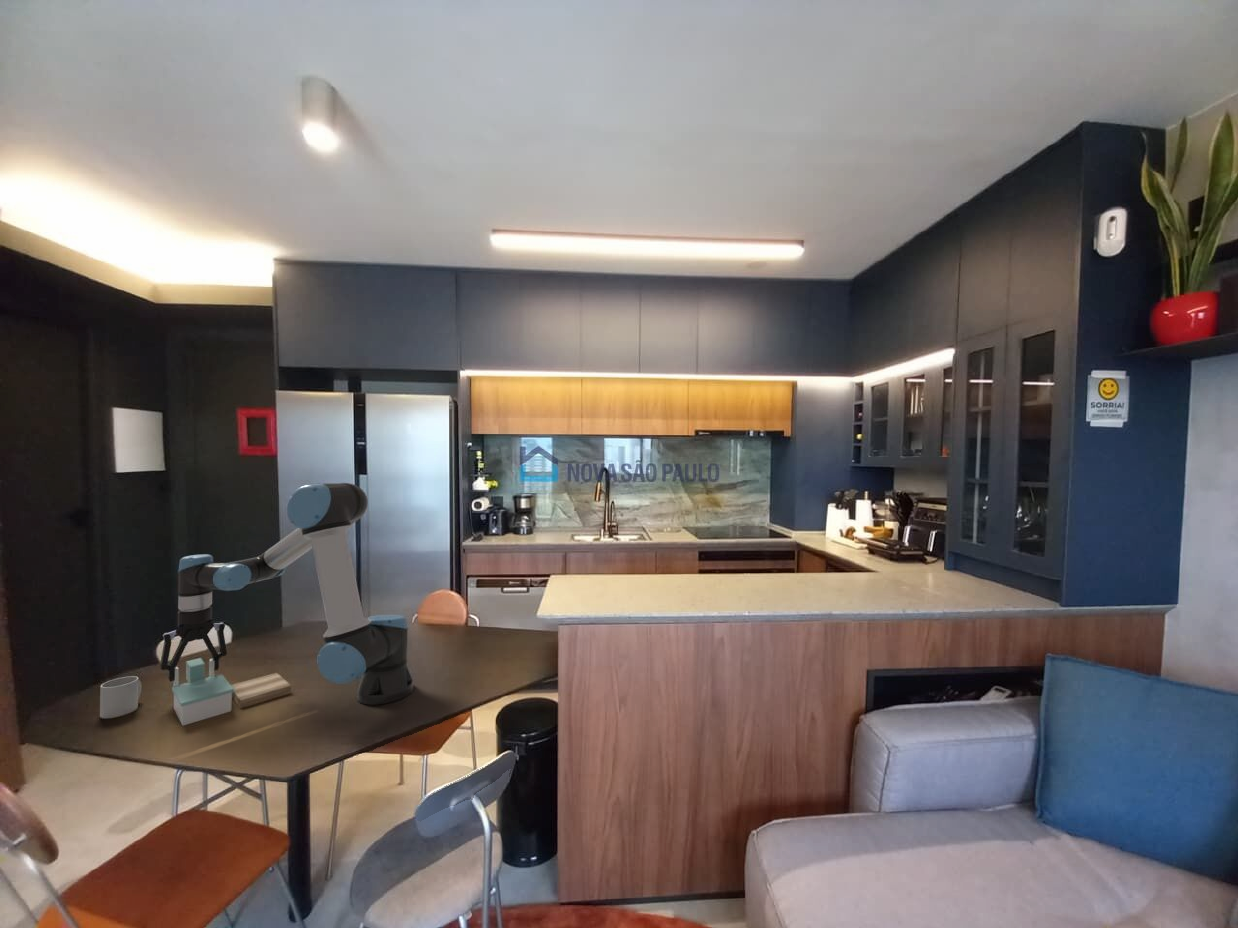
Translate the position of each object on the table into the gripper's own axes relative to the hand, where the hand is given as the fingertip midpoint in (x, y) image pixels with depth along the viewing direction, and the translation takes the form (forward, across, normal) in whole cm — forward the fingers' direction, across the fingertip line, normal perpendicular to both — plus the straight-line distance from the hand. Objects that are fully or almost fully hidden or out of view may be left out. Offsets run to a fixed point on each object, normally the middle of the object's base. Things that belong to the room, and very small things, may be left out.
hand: (194, 686), depth 140 cm
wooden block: (+4, -13, +12) cm, 18 cm away
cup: (+4, +14, -4) cm, 15 cm away
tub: (+4, 0, +12) cm, 13 cm away
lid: (-2, 0, +9) cm, 9 cm away
